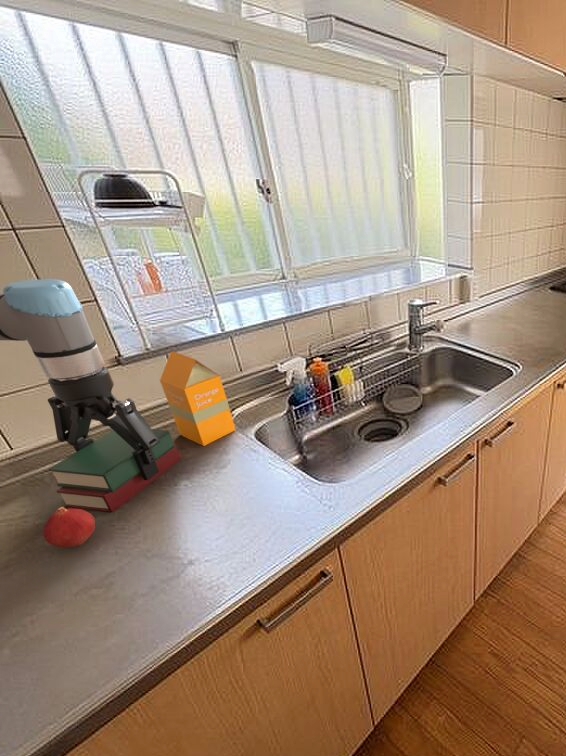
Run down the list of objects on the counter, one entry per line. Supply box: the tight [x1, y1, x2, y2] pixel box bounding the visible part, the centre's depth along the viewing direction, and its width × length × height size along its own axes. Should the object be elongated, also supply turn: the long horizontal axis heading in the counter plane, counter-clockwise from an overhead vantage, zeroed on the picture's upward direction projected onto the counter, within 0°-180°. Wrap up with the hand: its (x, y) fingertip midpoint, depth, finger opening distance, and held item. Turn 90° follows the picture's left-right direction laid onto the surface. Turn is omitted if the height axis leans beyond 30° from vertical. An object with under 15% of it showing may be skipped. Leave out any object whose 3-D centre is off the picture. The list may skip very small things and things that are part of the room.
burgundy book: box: [56, 442, 182, 513], centre depth 82 cm, size 9×16×4 cm, turn 175°
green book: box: [47, 428, 175, 492], centre depth 80 cm, size 10×14×4 cm
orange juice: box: [159, 350, 236, 447], centre depth 94 cm, size 8×9×20 cm
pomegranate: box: [42, 506, 96, 548], centre depth 68 cm, size 6×6×8 cm
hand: (124, 472), depth 82 cm, fingers closed on green book, 10 cm apart
